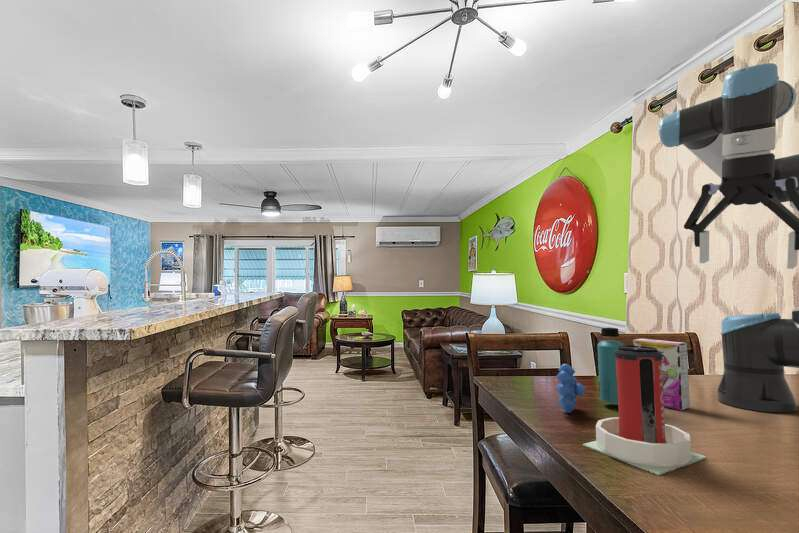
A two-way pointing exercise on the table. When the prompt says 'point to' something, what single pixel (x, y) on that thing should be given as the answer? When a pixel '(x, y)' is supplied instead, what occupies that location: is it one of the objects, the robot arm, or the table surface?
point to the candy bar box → (672, 371)
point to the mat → (651, 469)
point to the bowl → (644, 446)
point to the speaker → (640, 394)
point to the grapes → (568, 388)
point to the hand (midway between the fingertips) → (745, 264)
